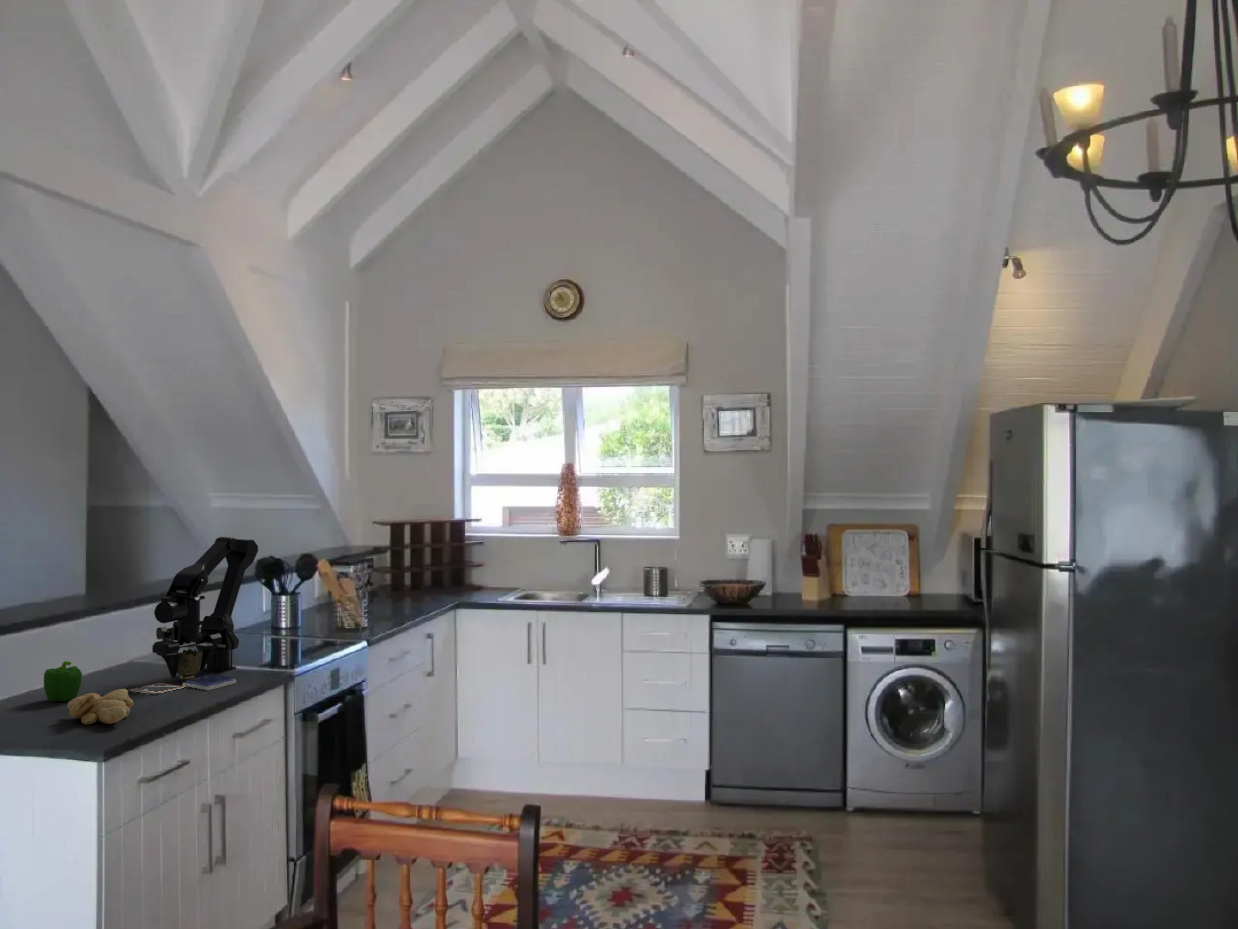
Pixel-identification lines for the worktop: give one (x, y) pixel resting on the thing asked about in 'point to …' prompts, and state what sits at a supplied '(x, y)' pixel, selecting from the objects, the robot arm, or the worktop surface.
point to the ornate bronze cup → (189, 664)
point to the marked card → (158, 686)
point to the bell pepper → (62, 682)
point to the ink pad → (209, 682)
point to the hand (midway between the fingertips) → (187, 674)
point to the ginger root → (101, 707)
